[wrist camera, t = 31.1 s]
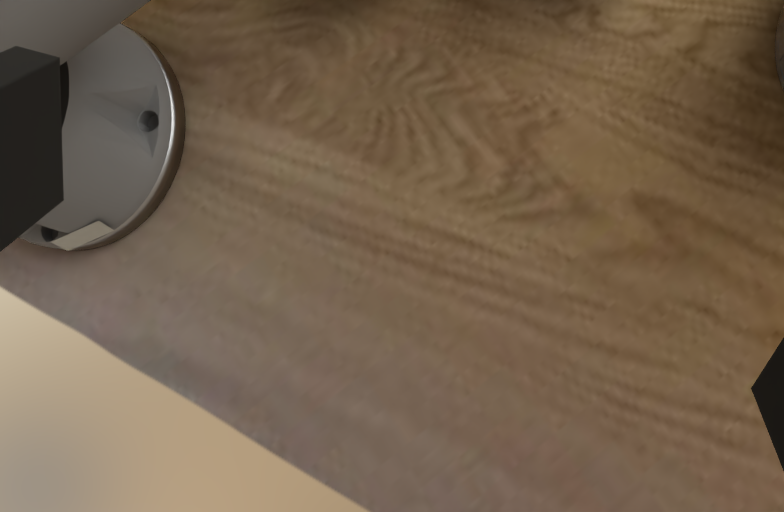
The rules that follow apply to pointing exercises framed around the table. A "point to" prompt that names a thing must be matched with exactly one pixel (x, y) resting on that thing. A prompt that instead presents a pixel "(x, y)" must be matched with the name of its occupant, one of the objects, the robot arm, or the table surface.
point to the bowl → (780, 48)
